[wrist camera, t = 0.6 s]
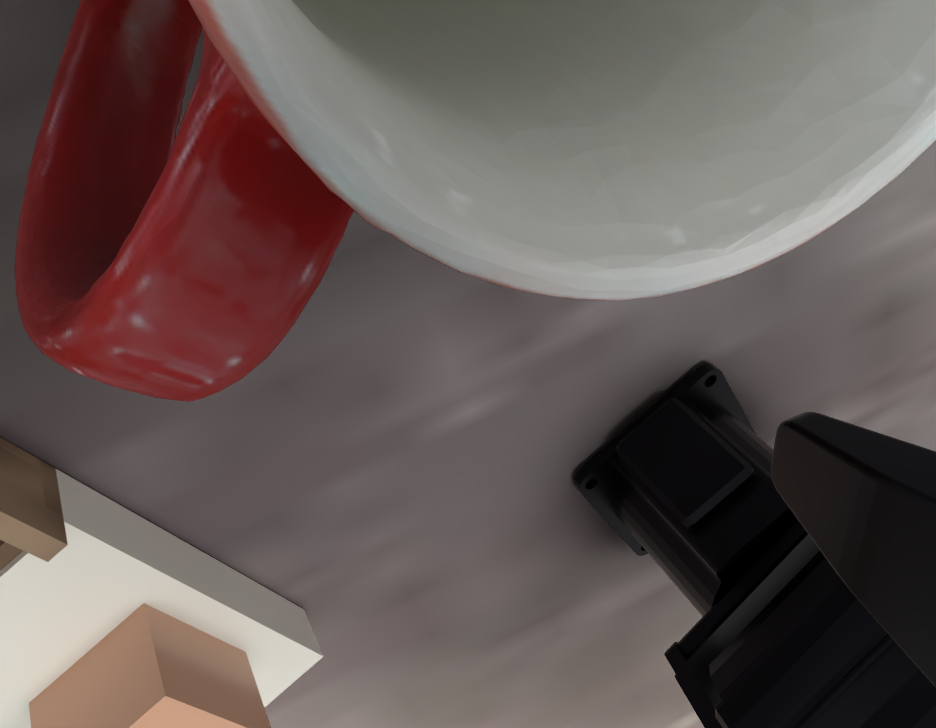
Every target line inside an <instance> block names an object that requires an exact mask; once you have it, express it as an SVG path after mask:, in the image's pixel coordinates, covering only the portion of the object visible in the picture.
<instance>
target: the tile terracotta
mask: <svg viewBox="0 0 936 728" xmlns="http://www.w3.org/2000/svg"><path fill="white" fill-rule="evenodd" d="M29 711H30V721H31V728H271V726H270V723H269V720H268V717H267V714H266V711H265V708H264V705H263V702H262V699H261V696H260V693H259V690H258V687H257V684H256V681H255V678H254V675H253V672H252V669H251V666H250V663H249V660H248V657H247V654H246V652H245V651H243V650H241V649H239V648H237V647H234V646H232V645H230V644H228V643H226V642H224V641H222V640H220V639H218V638H216V637H214V636H211V635H209V634H207V633H205V632H203V631H201V630H199V629H197V628H195V627H193V626H191V625H188V624H186V623H184V622H182V621H180V620H178V619H176V618H174V617H172V616H170V615H168V614H165V613H163V612H161V611H159V610H157V609H155V608H153V607H151V606H149V605H147V604H145V603H143V604H142V605H141V606H140V607H139V608H137V609H136V610H135V611H134V612H133V613H132V614H131V615H129V616H128V617H127V618H126V619H125V620H124V621H122V622H121V623H120V624H119V625H118V626H117V627H116V628H114V629H113V630H112V631H111V632H110V633H109V634H108V635H106V636H105V637H104V638H103V639H102V640H101V641H100V642H98V643H97V644H96V645H95V646H94V647H93V648H91V649H90V650H89V651H88V652H87V653H86V654H85V655H83V656H82V657H81V658H80V659H79V660H78V661H77V662H75V663H74V664H73V665H72V666H71V667H70V668H69V669H67V670H66V671H65V672H64V673H63V674H62V675H60V676H59V677H58V678H57V679H56V680H55V681H54V682H52V683H51V684H50V685H49V686H48V687H47V688H46V689H44V690H43V691H42V692H41V693H40V694H39V695H37V696H36V697H35V698H34V699H33V700H32V701H31V702H29Z"/></svg>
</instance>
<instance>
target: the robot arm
mask: <svg viewBox="0 0 936 728" xmlns="http://www.w3.org/2000/svg"><path fill="white" fill-rule="evenodd" d="M574 485H575V487H576V488H577V489H578V490H579V491H580V493H581V494H582V495H583V496H584V497H585V498H586V499H587V500H588V501H589V502H590V504H591V505H592V506H593V507H594V508H595V509H596V510H597V511H598V512H599V513H600V514H601V516H602V517H603V518H604V519H605V520H606V521H607V522H608V523H609V524H610V525H611V527H612V528H613V529H614V530H615V531H616V532H617V533H618V534H619V535H620V536H621V538H622V539H623V540H624V541H625V542H626V543H627V544H628V545H629V546H630V547H631V548H632V550H633V551H634V552H635V553H636V554H637V555H639V556H641V555H645V554H647V553H649V554H650V556H651V557H652V558H653V559H654V560H655V561H656V563H657V564H658V565H659V566H660V567H661V568H662V570H663V571H664V572H665V573H666V574H667V575H668V577H669V578H670V579H671V580H672V581H673V582H674V584H675V585H676V586H677V587H678V588H679V589H680V591H681V592H682V593H683V594H684V595H685V596H686V598H687V599H688V600H689V601H690V602H691V603H692V605H693V606H694V607H695V608H696V609H697V610H698V611H699V613H700V614H701V615H702V616H703V617H702V618H701V619H700V620H699V621H698V623H697V624H696V625H695V626H694V627H693V628H692V629H691V630H690V631H689V632H688V633H687V634H686V635H685V636H684V637H683V638H682V639H681V640H680V641H679V642H675V643H674V644H673V645H672V646H671V647H670V648H669V649H668V650H667V651H666V652H665V656H666V658H667V660H668V661H669V663H670V665H671V666H672V668H673V670H674V671H675V673H676V675H675V678H676V680H677V682H678V683H679V685H680V687H681V688H682V690H683V692H684V693H685V695H686V697H687V698H688V700H689V702H690V703H691V705H692V707H693V709H694V710H695V712H696V714H697V715H698V717H699V719H700V720H701V722H702V724H703V725H704V727H705V728H936V452H935V451H932V450H929V449H926V448H923V447H920V446H917V445H914V444H911V443H908V442H905V441H902V440H899V439H896V438H892V437H889V436H886V435H883V434H880V433H877V432H874V431H871V430H868V429H865V428H862V427H859V426H856V425H853V424H850V423H847V422H844V421H840V420H837V419H834V418H831V417H828V416H825V415H822V414H819V413H815V412H806V413H802V414H800V415H797V416H795V417H793V418H790V419H788V420H786V421H784V422H782V423H781V424H780V425H779V427H778V429H777V433H776V439H775V445H774V450H773V449H772V448H771V447H769V446H768V445H767V444H766V443H765V442H764V441H763V440H761V439H760V438H759V437H758V436H757V435H756V434H755V432H754V430H753V429H752V427H751V425H750V423H749V421H748V419H747V418H746V416H745V414H744V412H743V410H742V408H741V407H740V405H739V403H738V401H737V399H736V397H735V396H734V394H733V392H732V390H731V388H730V386H729V385H728V383H727V381H726V379H725V377H724V375H723V374H722V372H721V371H720V370H719V369H718V368H717V367H715V366H714V365H713V364H711V363H707V364H703V365H702V366H700V367H699V368H698V369H697V370H695V371H694V372H693V373H692V374H691V375H690V376H689V377H687V378H686V379H685V380H684V381H683V382H682V383H680V384H679V385H678V386H677V387H676V388H675V389H673V390H672V391H671V392H670V393H669V394H668V395H667V396H665V397H664V398H663V399H662V400H661V401H660V402H658V403H657V404H656V405H655V406H654V407H653V408H651V409H650V410H649V411H648V412H647V413H646V414H645V415H643V416H642V417H641V418H640V419H639V420H638V421H636V422H635V423H634V424H633V425H632V426H631V427H629V428H628V429H627V430H626V431H625V432H624V433H622V434H621V435H620V436H619V437H618V438H617V439H616V440H614V441H613V442H612V443H611V444H610V445H609V446H607V447H606V448H605V449H604V450H603V451H602V452H600V453H599V454H598V455H597V456H596V457H595V458H594V459H592V460H591V461H590V462H589V463H588V464H587V465H585V466H584V467H583V468H582V469H581V470H580V471H579V472H578V473H577V474H576V476H575V478H574Z"/></svg>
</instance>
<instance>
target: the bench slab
mask: <svg viewBox="0 0 936 728" xmlns="http://www.w3.org/2000/svg"><path fill="white" fill-rule="evenodd" d="M56 474H57V481H58V487H59V493H60V500H61V506H62V512H63V518H64V525H65V531H66V537H67V544H68V545H67V546H66V547H65V548H64V549H62V550H61V551H60V552H59V553H58V554H57V555H56V556H54V557H53V558H52V559H51V560H50V561H49V562H46V561H44V560H42V559H40V558H38V557H36V556H34V555H32V554H29V553H27V552H25V551H22V552H21V553H20V554H19V555H18V556H17V557H16V558H14V559H13V560H12V561H11V562H10V563H9V564H8V565H6V566H5V567H4V568H3V569H2V570H1V571H0V728H31V721H30V711H29V702H31V701H32V700H33V699H34V698H35V697H36V696H37V695H39V694H40V693H41V692H42V691H43V690H44V689H46V688H47V687H48V686H49V685H50V684H51V683H52V682H54V681H55V680H56V679H57V678H58V677H59V676H60V675H62V674H63V673H64V672H65V671H66V670H67V669H69V668H70V667H71V666H72V665H73V664H74V663H75V662H77V661H78V660H79V659H80V658H81V657H82V656H83V655H85V654H86V653H87V652H88V651H89V650H90V649H91V648H93V647H94V646H95V645H96V644H97V643H98V642H100V641H101V640H102V639H103V638H104V637H105V636H106V635H108V634H109V633H110V632H111V631H112V630H113V629H114V628H116V627H117V626H118V625H119V624H120V623H121V622H122V621H124V620H125V619H126V618H127V617H128V616H129V615H131V614H132V613H133V612H134V611H135V610H136V609H137V608H139V607H140V606H141V605H142V604H143V603H145V604H147V605H149V606H151V607H153V608H155V609H157V610H159V611H161V612H163V613H165V614H168V615H170V616H172V617H174V618H176V619H178V620H180V621H182V622H184V623H186V624H188V625H191V626H193V627H195V628H197V629H199V630H201V631H203V632H205V633H207V634H209V635H211V636H214V637H216V638H218V639H220V640H222V641H224V642H226V643H228V644H230V645H232V646H234V647H237V648H239V649H241V650H243V651H245V652H246V654H247V657H248V660H249V663H250V666H251V669H252V672H253V675H254V678H255V681H256V684H257V687H258V690H259V693H260V696H261V699H262V702H263V705H264V707H266V706H267V705H268V704H269V703H270V702H271V701H272V700H274V699H275V698H276V697H277V696H278V695H279V694H281V693H282V692H283V691H284V690H285V689H286V688H288V687H289V686H290V685H291V684H292V683H293V682H294V681H296V680H297V679H298V678H299V677H300V676H301V675H303V674H304V673H305V672H306V671H307V670H308V669H310V668H311V667H312V666H313V665H314V664H315V663H316V662H318V661H319V660H320V659H321V658H322V657H323V654H322V652H321V649H320V647H319V645H318V642H317V640H316V637H315V635H314V633H313V630H312V628H311V625H310V623H309V621H308V618H307V616H306V613H305V611H304V609H302V608H301V607H299V606H297V605H295V604H294V603H292V602H290V601H288V600H287V599H285V598H283V597H281V596H280V595H278V594H276V593H274V592H272V591H271V590H269V589H267V588H265V587H264V586H262V585H260V584H258V583H257V582H255V581H253V580H251V579H250V578H248V577H246V576H244V575H242V574H241V573H239V572H237V571H235V570H234V569H232V568H230V567H228V566H227V565H225V564H223V563H221V562H220V561H218V560H216V559H214V558H213V557H211V556H209V555H207V554H205V553H204V552H202V551H200V550H198V549H197V548H195V547H193V546H191V545H190V544H188V543H186V542H184V541H183V540H181V539H179V538H177V537H175V536H174V535H172V534H170V533H168V532H167V531H165V530H163V529H161V528H160V527H158V526H156V525H154V524H153V523H151V522H149V521H147V520H145V519H144V518H142V517H140V516H138V515H137V514H135V513H133V512H131V511H130V510H128V509H126V508H124V507H123V506H121V505H119V504H117V503H116V502H114V501H112V500H110V499H108V498H107V497H105V496H103V495H101V494H100V493H98V492H96V491H94V490H93V489H91V488H89V487H87V486H86V485H84V484H82V483H80V482H78V481H77V480H75V479H73V478H71V477H70V476H68V475H66V474H64V473H63V472H61V471H59V470H57V469H56Z"/></svg>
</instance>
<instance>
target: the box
mask: <svg viewBox="0 0 936 728" xmlns="http://www.w3.org/2000/svg"><path fill="white" fill-rule="evenodd" d="M67 545H68V544H67V537H66V531H65V525H64V518H63V512H62V506H61V500H60V493H59V487H58V481H57V474H56V468H54V467H52V466H50V465H48V464H47V463H45V462H43V461H41V460H40V459H38V458H36V457H34V456H33V455H31V454H29V453H27V452H26V451H24V450H22V449H20V448H19V447H17V446H15V445H13V444H11V443H10V442H8V441H6V440H4V439H3V438H1V437H0V571H1V570H2V569H3V568H4V567H5V566H6V565H8V564H9V563H10V562H11V561H12V560H13V559H14V558H16V557H17V556H18V555H19V554H20V553H21V552H22V551H25V552H27V553H29V554H32V555H34V556H36V557H38V558H40V559H42V560H44V561H46V562H49V561H50V560H51V559H52V558H53V557H54V556H56V555H57V554H58V553H59V552H60V551H61V550H62V549H64V548H65V547H66V546H67Z"/></svg>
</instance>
